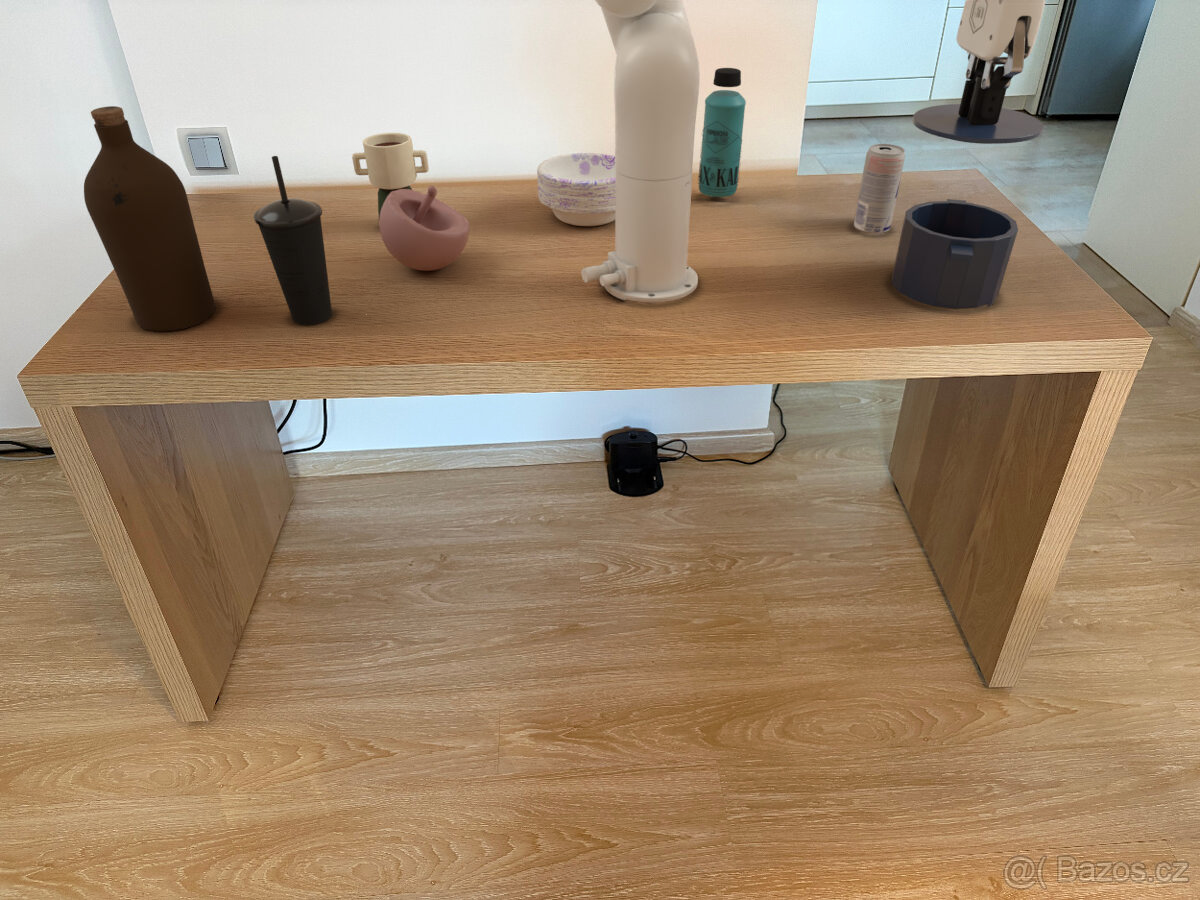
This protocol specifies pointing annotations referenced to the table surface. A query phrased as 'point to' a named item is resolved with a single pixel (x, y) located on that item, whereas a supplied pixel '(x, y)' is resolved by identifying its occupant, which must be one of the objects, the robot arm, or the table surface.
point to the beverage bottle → (722, 136)
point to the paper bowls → (579, 188)
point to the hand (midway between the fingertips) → (977, 118)
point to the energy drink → (879, 188)
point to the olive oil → (146, 229)
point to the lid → (958, 128)
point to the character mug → (390, 163)
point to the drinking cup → (297, 253)
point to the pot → (953, 254)
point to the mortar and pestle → (422, 229)
